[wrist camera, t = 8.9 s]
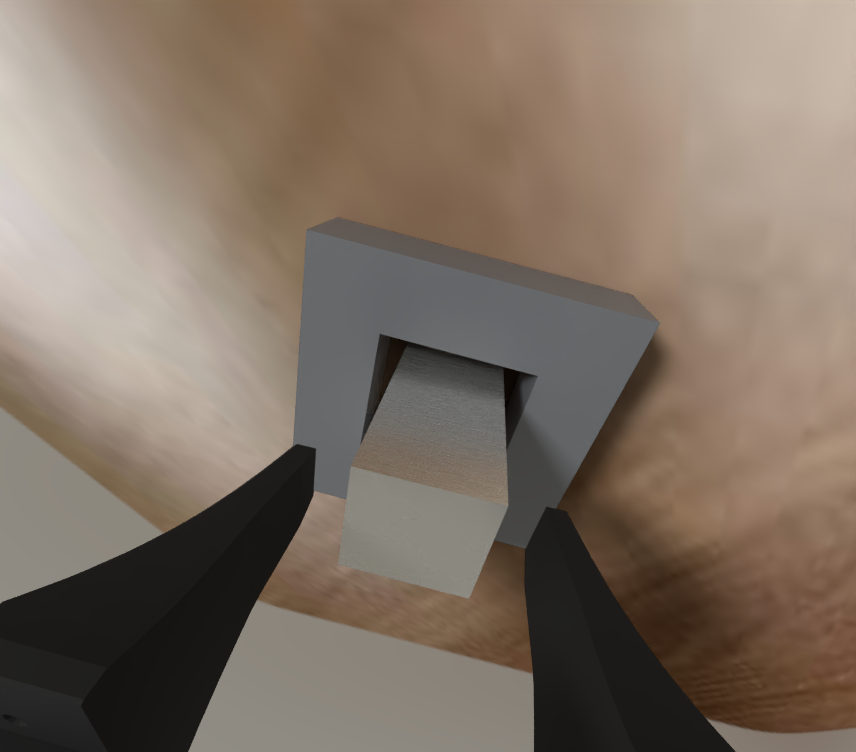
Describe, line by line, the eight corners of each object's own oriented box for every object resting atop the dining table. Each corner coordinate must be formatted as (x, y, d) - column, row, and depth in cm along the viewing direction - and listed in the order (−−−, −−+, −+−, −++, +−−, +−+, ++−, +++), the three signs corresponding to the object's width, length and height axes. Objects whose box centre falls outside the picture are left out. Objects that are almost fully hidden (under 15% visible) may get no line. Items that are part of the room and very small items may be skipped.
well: (632, 294, 16) (660, 322, 13) (527, 503, 22) (532, 550, 19) (337, 217, 16) (306, 229, 13) (314, 444, 22) (290, 484, 19)
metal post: (502, 350, 18) (508, 506, 10) (479, 421, 20) (468, 598, 12) (414, 329, 18) (350, 466, 10) (400, 402, 20) (338, 564, 12)
